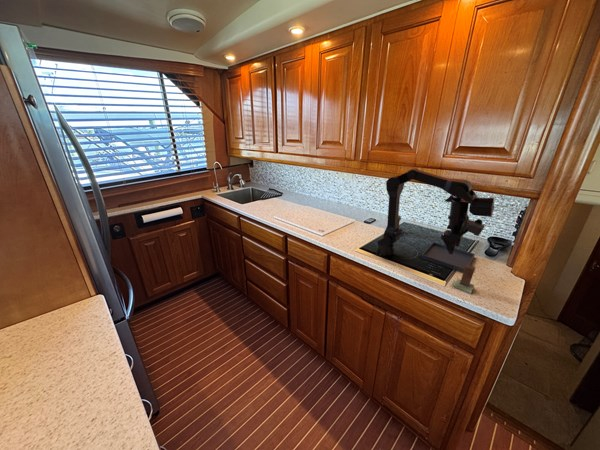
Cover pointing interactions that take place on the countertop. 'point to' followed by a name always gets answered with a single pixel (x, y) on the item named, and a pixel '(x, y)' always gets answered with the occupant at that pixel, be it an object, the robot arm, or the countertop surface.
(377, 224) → the countertop surface
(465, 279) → the brown green handled brush
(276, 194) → the countertop surface
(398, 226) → the cork
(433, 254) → the tray
